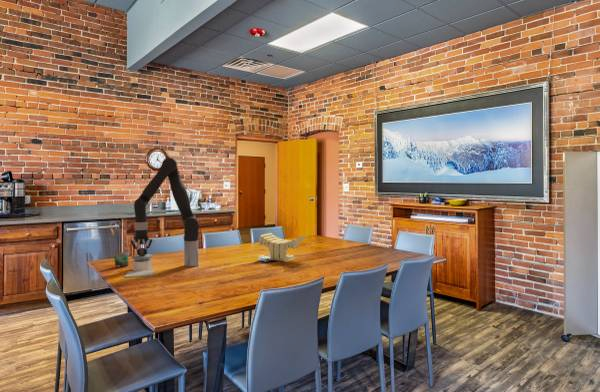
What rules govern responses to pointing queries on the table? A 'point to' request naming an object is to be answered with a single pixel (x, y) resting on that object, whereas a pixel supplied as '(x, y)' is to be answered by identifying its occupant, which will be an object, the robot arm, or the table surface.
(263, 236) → the slatted curved stool
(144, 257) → the lid
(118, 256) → the food container
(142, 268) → the bowl
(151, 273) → the mat
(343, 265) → the table surface
